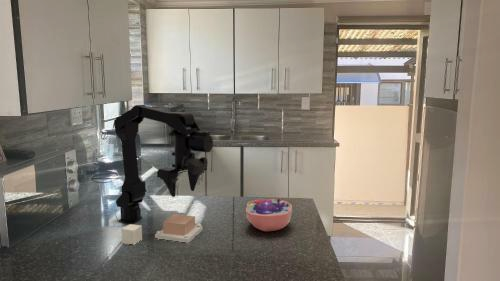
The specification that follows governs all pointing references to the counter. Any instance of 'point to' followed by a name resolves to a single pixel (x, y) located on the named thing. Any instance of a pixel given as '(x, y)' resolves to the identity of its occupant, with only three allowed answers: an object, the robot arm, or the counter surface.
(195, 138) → the robot arm
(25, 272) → the counter surface
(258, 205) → the cell model
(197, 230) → the base plate
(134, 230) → the cream brick
